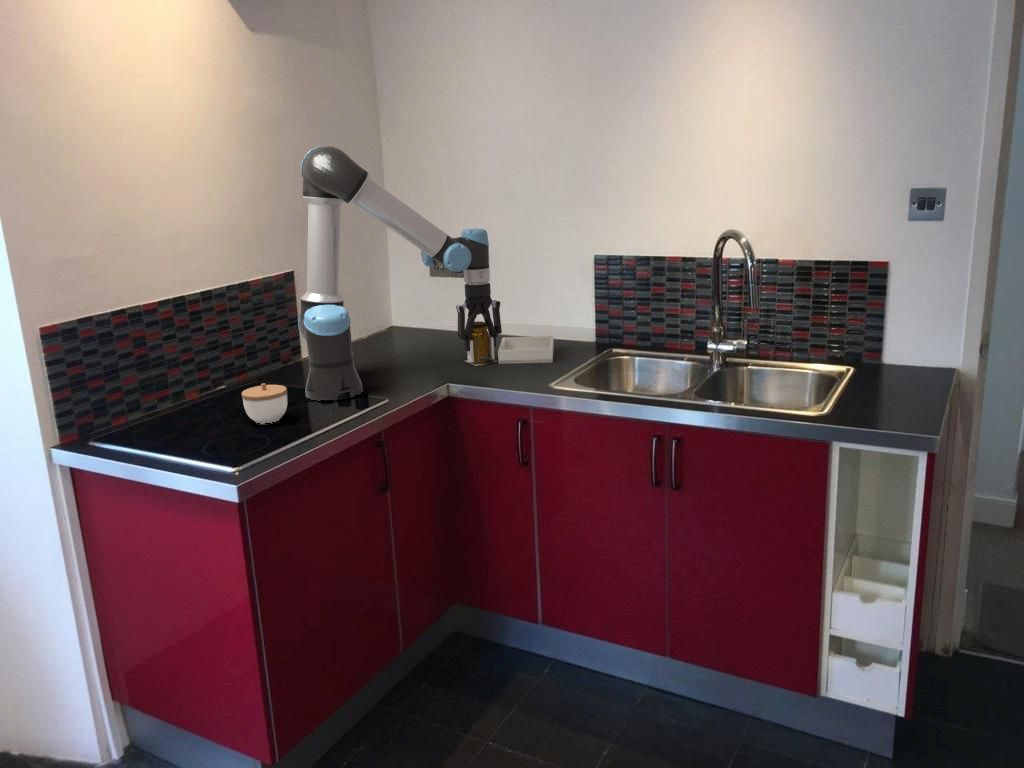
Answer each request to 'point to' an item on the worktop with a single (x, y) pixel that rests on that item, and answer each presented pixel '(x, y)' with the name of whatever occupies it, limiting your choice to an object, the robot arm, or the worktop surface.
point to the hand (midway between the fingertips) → (481, 359)
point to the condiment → (480, 344)
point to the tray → (526, 350)
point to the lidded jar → (265, 402)
